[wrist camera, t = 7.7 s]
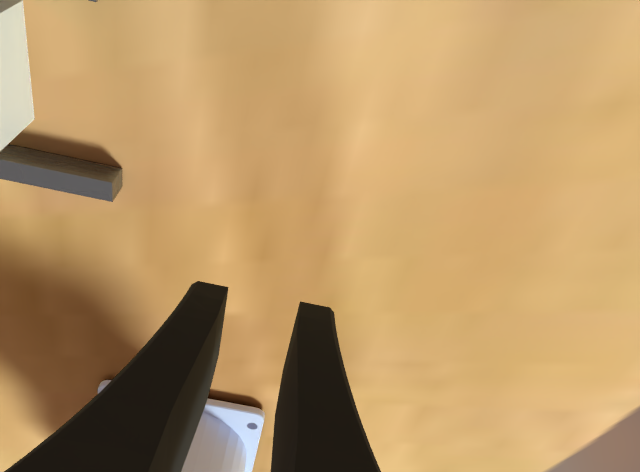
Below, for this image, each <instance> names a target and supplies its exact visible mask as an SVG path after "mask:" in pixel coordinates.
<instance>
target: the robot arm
mask: <svg viewBox="0 0 640 472" xmlns="http://www.w3.org/2000/svg"><path fill="white" fill-rule="evenodd" d="M227 293H228V287H225V286H220V285H215V284H210V283H205V282H200V281H197V282H196V283H194V284H192V285H191V287H190V288H189V290H188V291H187V293H186V294H185V296H184V297H183V299H182V300H181V302H180V303H179V304H178V306H177V307H176V308H175V310H174V311H173V312H172V314H171V315H170V316H169V317H168V319H167V320H166V321H165V322H164V324H163V325H162V326H161V327H160V329H159V330H158V331H157V332H156V333H155V334H154V336H153V337H152V338H151V339H150V340H149V341H148V342H147V344H146V345H145V346H144V347H143V348H142V349H141V350H140V351H139V353H138V354H137V355H136V356H135V357H134V358H133V359H132V360H131V361H130V362H129V363H128V364H127V365H126V366H125V367H124V368H123V369H122V370H121V371H120V372H119V373H118V374H117V376H116V377H115V378H114V379H113V380H104V381H102V382H101V383H100V385H99V387H98V394H97V395H96V396H95V397H94V398H93V399H92V400H91V401H90V402H89V403H88V404H87V405H86V406H84V407H83V408H82V409H81V410H80V411H79V412H78V413H77V414H75V415H74V416H73V417H72V418H71V419H70V420H69V421H67V422H66V423H65V424H64V425H63V426H62V427H60V428H59V429H58V430H57V431H56V432H54V433H53V434H52V435H51V436H49V437H48V438H47V439H46V440H44V441H43V442H42V443H41V444H39V445H38V446H37V447H36V448H34V449H33V450H32V451H31V452H29V453H28V454H27V455H26V456H24V457H23V458H22V459H20V460H19V461H18V462H17V463H15V464H14V465H13V466H11V467H10V468H9V469H7V470H6V471H4V472H252V469H253V465H254V460H255V456H256V452H257V448H258V444H259V439H260V435H261V431H262V427H263V423H264V418H265V413H264V412H263V411H262V410H261V409H259V408H256V407H251V406H246V405H240V404H235V403H230V402H225V401H219V400H214V399H209V398H208V395H209V391H210V387H211V383H212V379H213V375H214V371H215V367H216V363H217V359H218V355H219V348H220V341H221V334H222V328H223V321H224V314H225V307H226V300H227ZM271 472H381V471H380V468H379V466H378V464H377V461H376V459H375V457H374V454H373V452H372V449H371V447H370V444H369V442H368V439H367V436H366V433H365V431H364V428H363V425H362V423H361V420H360V417H359V414H358V411H357V408H356V405H355V402H354V399H353V395H352V392H351V389H350V386H349V382H348V379H347V376H346V372H345V368H344V364H343V360H342V356H341V352H340V347H339V343H338V338H337V332H336V326H335V318H334V312H333V311H332V310H331V308H329V307H324V306H319V305H314V304H309V303H304V302H300V304H299V308H298V312H297V316H296V320H295V324H294V328H293V332H292V336H291V340H290V344H289V348H288V352H287V356H286V360H285V364H284V368H283V374H282V379H281V385H280V391H279V396H278V402H277V408H276V413H275V424H274V437H273V450H272V463H271Z"/></svg>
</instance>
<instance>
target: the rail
mask: <svg viewBox="0 0 640 472" xmlns="http://www.w3.org/2000/svg"><path fill="white" fill-rule="evenodd" d="M89 1H94V2H97V1H98V0H89ZM0 179H4V180H9V181H14V182H19V183H24V184H29V185H34V186H38V187H43V188H48V189H53V190H58V191H63V192H67V193H72V194H77V195H82V196H87V197H92V198H96V199H101V200H106V201H111V202H113V200H114V199H115V197H116V196H117V194H118V193H119V191H120V190H121V188H122V168H119V167H114V166H109V165H104V164H99V163H95V162H90V161H85V160H80V159H76V158H71V157H66V156H61V155H57V154H52V153H47V152H42V151H38V150H33V149H28V148H23V147H19V146H14V145H9V144H8V145H7V146H5V147H4V148H3V149H2V150H1V151H0Z"/></svg>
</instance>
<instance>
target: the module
mask: <svg viewBox="0 0 640 472" xmlns="http://www.w3.org/2000/svg"><path fill="white" fill-rule="evenodd" d="M34 119H35V118H34V108H33V98H32V88H31V78H30V68H29V58H28V48H27V38H26V28H25V17H24V7H23V0H0V151H1V150H2V149H3V148H4V147H5V146H7V145H8V144H9V143H10V142H11V141H12V140H13V139H14V138H15V137H16V136H17V135H18V134H19V133H20V132H21V131H22V130H23V129H24V128H26V127H27V126H28V125H29V124H30V123H31V122H32V121H33V120H34Z"/></svg>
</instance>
